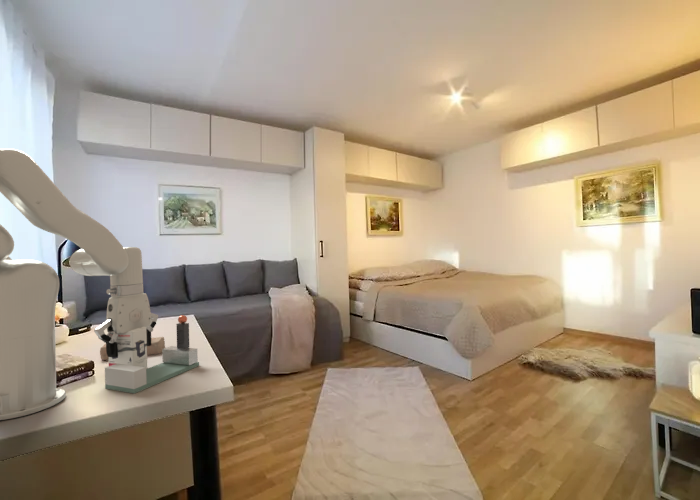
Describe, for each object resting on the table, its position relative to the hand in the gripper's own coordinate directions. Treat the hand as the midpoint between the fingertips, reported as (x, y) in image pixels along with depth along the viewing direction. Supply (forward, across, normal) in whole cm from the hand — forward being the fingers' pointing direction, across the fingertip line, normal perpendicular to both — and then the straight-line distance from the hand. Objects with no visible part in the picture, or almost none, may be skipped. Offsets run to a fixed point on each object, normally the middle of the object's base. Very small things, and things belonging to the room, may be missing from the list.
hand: (130, 350), depth 90 cm
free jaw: (+4, +6, -12) cm, 14 cm away
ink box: (+5, -1, 0) cm, 5 cm away
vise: (+5, -2, -12) cm, 13 cm away
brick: (+6, +11, +14) cm, 19 cm away
